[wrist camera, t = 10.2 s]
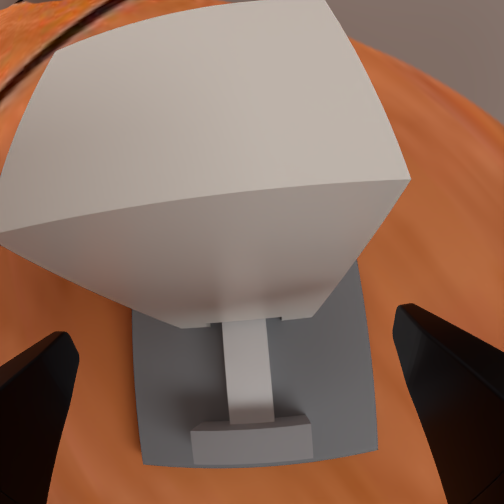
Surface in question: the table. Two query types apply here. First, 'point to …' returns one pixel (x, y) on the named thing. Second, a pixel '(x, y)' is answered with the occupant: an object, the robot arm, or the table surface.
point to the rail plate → (257, 387)
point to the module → (204, 163)
